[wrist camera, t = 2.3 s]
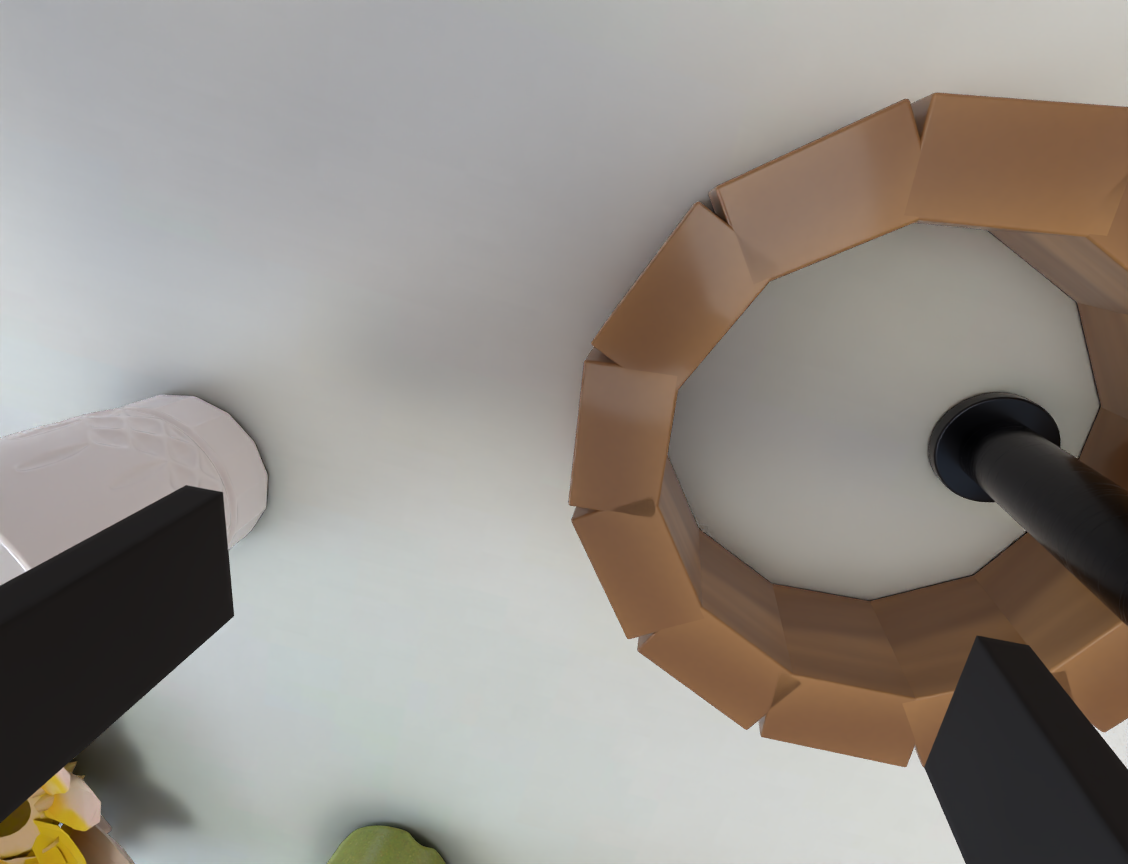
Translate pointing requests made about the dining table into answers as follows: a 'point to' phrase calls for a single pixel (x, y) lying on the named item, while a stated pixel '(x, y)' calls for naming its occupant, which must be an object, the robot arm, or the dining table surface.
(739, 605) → the ring
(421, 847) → the plant pot
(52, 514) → the white cup
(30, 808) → the decorative flower
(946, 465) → the peg
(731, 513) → the dining table surface
